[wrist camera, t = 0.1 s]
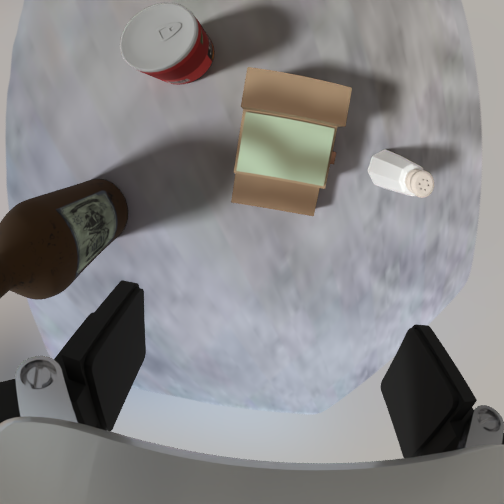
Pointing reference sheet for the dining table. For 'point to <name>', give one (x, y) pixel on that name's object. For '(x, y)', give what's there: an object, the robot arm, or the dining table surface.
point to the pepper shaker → (400, 175)
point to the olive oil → (58, 237)
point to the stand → (287, 139)
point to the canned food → (167, 44)
